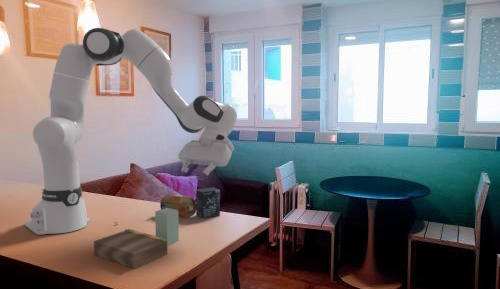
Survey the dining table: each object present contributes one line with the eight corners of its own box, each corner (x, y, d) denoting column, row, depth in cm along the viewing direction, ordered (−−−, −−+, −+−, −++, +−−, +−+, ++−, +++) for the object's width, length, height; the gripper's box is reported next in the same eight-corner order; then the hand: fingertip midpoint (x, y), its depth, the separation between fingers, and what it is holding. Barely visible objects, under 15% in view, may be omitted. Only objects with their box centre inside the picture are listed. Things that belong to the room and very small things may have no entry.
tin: (160, 215, 145) (159, 194, 144) (164, 213, 148) (164, 192, 147) (193, 219, 139) (193, 198, 139) (197, 217, 142) (197, 196, 142)
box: (202, 219, 140) (202, 191, 139) (195, 215, 145) (195, 189, 144) (220, 216, 144) (220, 189, 143) (213, 212, 149) (213, 186, 148)
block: (155, 242, 116) (155, 211, 115) (167, 237, 120) (166, 207, 119) (167, 245, 113) (166, 214, 112) (178, 240, 117) (178, 210, 116)
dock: (94, 254, 106) (93, 240, 106) (128, 241, 116) (127, 228, 116) (134, 268, 97) (133, 253, 96) (167, 253, 107) (167, 239, 107)
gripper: (185, 134, 136) (167, 164, 129) (230, 137, 125) (213, 169, 118) (193, 145, 140) (176, 175, 133) (238, 148, 129) (221, 181, 122)
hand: (194, 172), depth 125 cm, fingers open, 8 cm apart
